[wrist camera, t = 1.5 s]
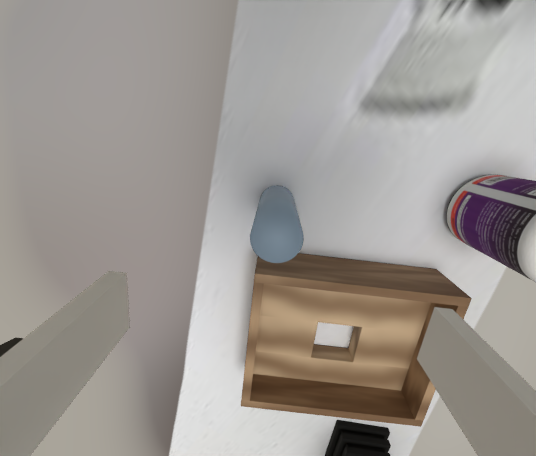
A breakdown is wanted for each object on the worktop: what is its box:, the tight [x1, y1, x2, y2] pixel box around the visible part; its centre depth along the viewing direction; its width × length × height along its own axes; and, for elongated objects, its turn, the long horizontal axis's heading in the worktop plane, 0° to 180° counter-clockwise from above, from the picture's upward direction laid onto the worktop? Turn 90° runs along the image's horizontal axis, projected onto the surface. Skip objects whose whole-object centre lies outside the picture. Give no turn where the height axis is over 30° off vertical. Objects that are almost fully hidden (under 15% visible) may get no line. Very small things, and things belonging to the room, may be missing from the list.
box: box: [241, 253, 471, 426], centre depth 34 cm, size 18×22×6 cm
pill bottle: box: [447, 175, 536, 282], centre depth 25 cm, size 8×8×14 cm
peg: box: [250, 186, 303, 263], centre depth 26 cm, size 4×4×12 cm
